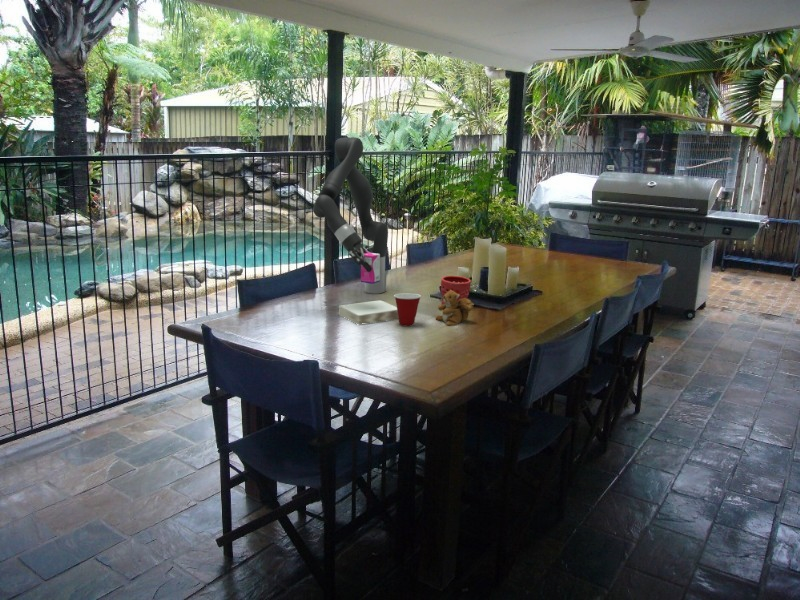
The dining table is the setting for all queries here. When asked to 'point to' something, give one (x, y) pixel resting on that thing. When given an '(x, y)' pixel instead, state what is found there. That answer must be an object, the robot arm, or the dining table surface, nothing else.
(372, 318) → the slab
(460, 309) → the stuffed squirrel
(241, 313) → the dining table surface
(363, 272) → the supplement box
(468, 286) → the plant pot
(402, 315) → the plastic cup
